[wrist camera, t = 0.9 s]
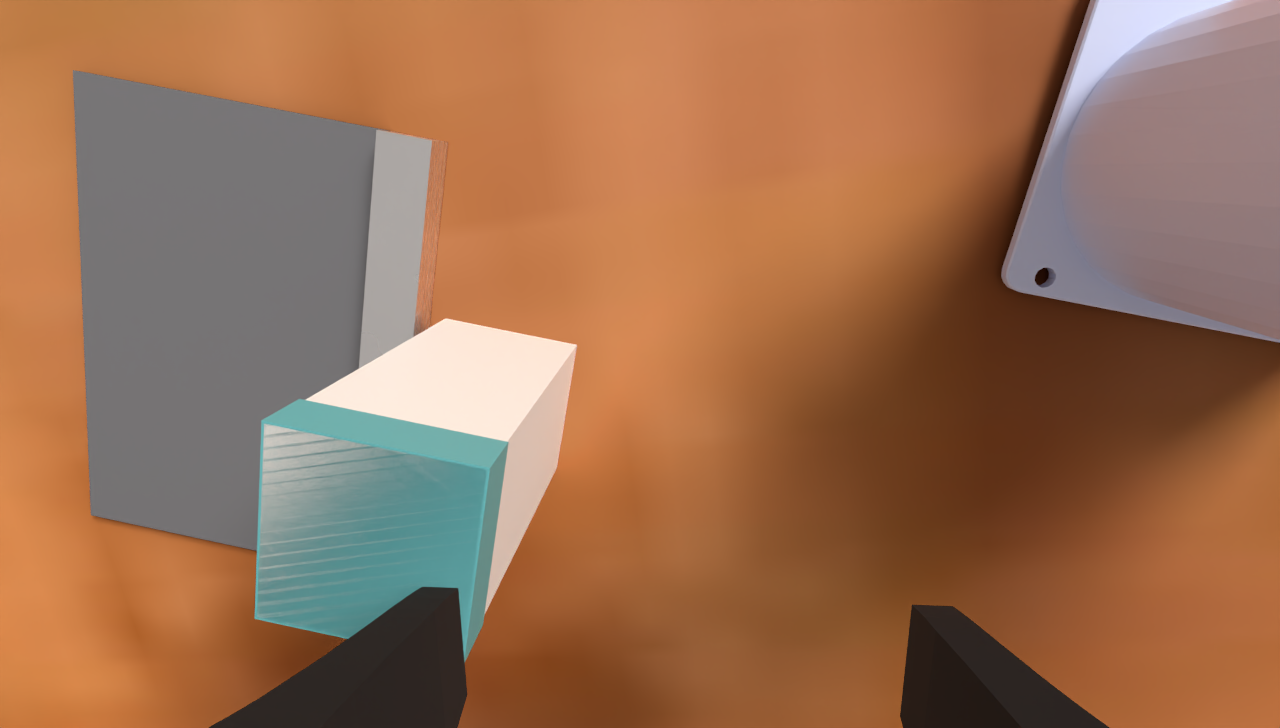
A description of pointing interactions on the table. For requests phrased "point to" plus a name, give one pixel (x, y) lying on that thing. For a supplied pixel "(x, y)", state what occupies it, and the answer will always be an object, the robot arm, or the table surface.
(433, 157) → the stop rail
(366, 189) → the mat
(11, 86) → the table surface
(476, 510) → the tall block
